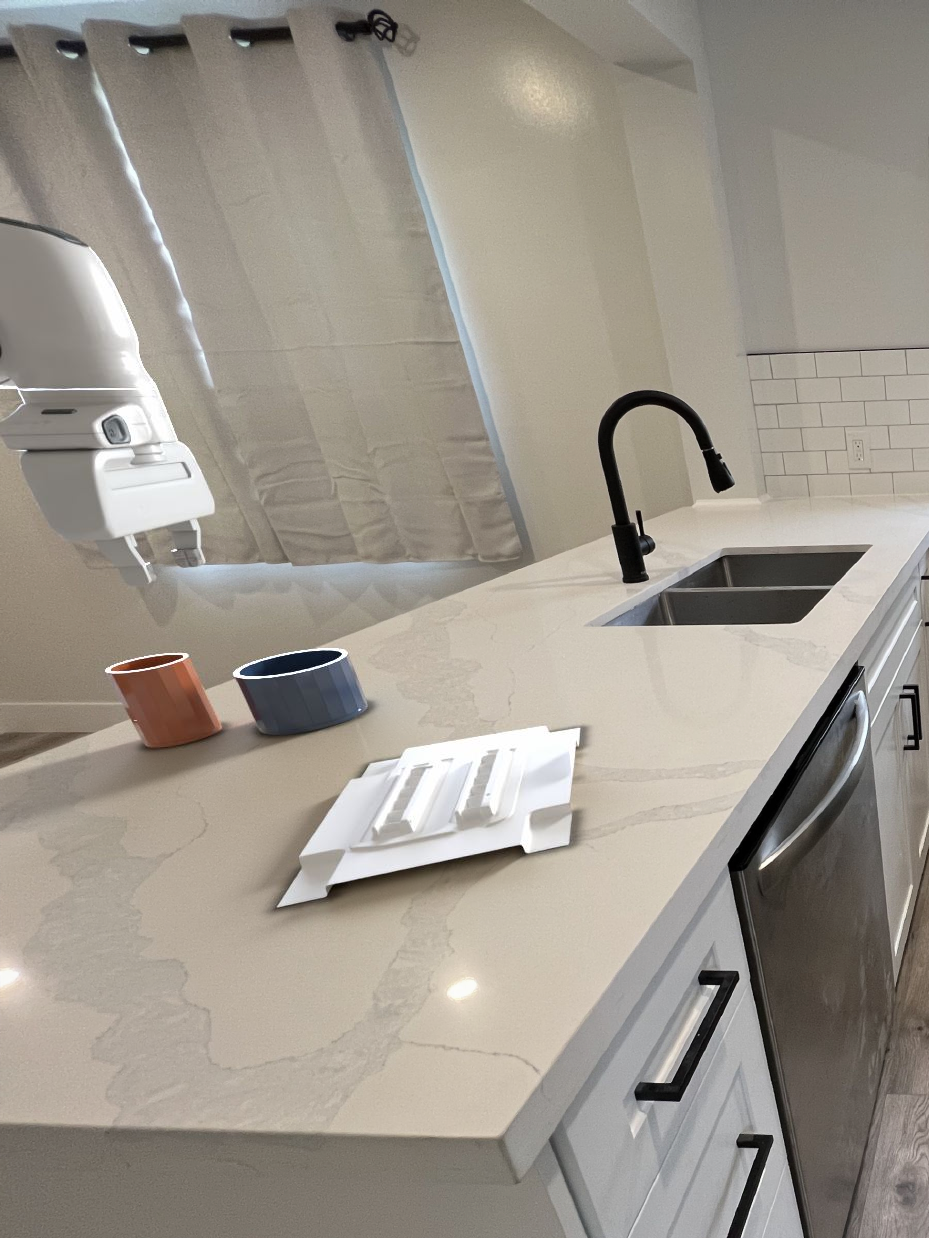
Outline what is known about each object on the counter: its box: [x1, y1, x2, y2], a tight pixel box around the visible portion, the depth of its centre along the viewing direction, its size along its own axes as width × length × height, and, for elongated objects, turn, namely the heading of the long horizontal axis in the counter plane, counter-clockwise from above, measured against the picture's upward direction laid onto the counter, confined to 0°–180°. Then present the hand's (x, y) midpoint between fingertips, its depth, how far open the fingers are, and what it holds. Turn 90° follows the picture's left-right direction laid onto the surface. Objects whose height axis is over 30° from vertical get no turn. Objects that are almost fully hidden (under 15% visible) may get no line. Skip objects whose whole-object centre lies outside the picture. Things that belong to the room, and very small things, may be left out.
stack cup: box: [232, 648, 369, 736], centre depth 95 cm, size 11×11×7 cm
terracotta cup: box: [105, 652, 223, 749], centre depth 91 cm, size 7×7×9 cm
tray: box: [276, 725, 581, 908], centre depth 75 cm, size 20×28×4 cm
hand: (169, 574), depth 79 cm, fingers open, 8 cm apart
